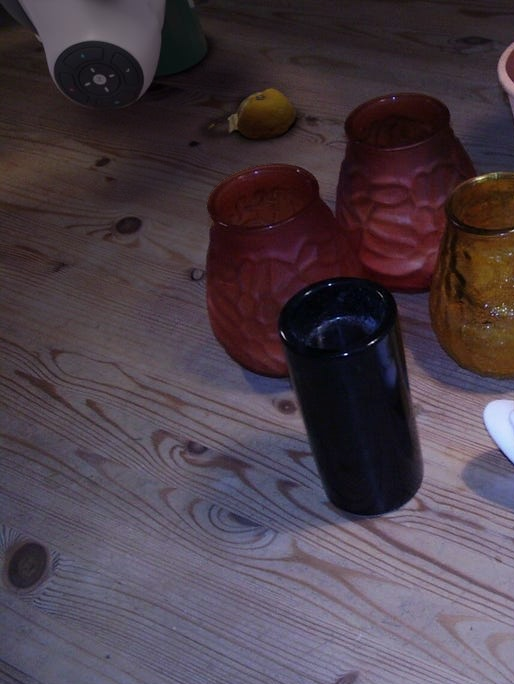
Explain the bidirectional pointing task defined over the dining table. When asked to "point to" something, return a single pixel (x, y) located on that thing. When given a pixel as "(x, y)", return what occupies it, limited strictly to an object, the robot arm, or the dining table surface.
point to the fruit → (263, 115)
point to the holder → (180, 38)
